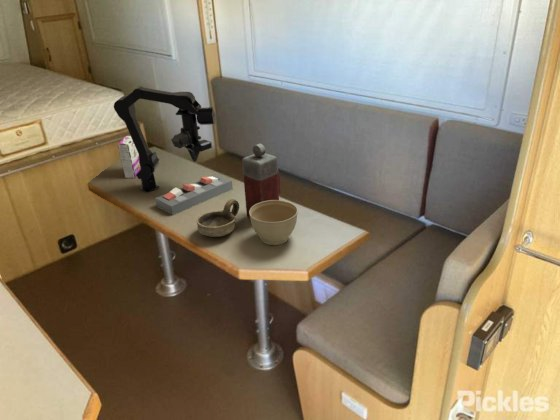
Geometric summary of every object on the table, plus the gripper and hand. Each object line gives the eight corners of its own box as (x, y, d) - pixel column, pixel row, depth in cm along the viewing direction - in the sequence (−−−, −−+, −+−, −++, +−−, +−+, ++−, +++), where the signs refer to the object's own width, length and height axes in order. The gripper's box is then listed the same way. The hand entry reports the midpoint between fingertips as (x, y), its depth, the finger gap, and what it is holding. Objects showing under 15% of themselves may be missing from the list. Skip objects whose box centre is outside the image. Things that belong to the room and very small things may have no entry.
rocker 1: (165, 200, 187) (163, 196, 186) (177, 190, 190) (175, 187, 189) (170, 202, 184) (168, 199, 183) (182, 193, 187) (181, 189, 186)
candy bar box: (131, 168, 223) (124, 135, 215) (142, 168, 223) (135, 135, 215) (124, 178, 213) (117, 144, 205) (135, 178, 213) (128, 143, 205)
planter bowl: (305, 245, 157) (304, 217, 152) (257, 255, 154) (255, 226, 148) (290, 223, 171) (289, 196, 166) (246, 231, 167) (244, 204, 162)
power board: (156, 206, 187) (155, 197, 185) (216, 181, 206) (215, 173, 204) (172, 215, 180) (171, 205, 178) (232, 188, 199) (231, 180, 197)
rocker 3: (200, 181, 197) (200, 177, 196) (212, 180, 202) (212, 176, 201) (205, 183, 195) (206, 179, 194) (217, 182, 199) (218, 178, 199)
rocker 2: (182, 188, 191) (182, 184, 191) (195, 188, 196) (195, 183, 196) (187, 190, 189) (188, 186, 188) (200, 190, 194) (201, 186, 193)
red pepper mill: (284, 212, 179) (281, 141, 166) (263, 223, 172) (258, 151, 158) (267, 205, 184) (263, 136, 171) (246, 216, 177) (240, 145, 164)
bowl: (189, 234, 167) (185, 209, 162) (227, 216, 178) (225, 192, 173) (214, 248, 158) (210, 222, 154) (252, 228, 169) (250, 203, 164)
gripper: (159, 125, 189) (165, 161, 196) (187, 135, 177) (192, 173, 185) (182, 118, 196) (187, 154, 203) (210, 127, 184) (214, 164, 192)
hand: (194, 161), depth 196 cm, fingers closed
